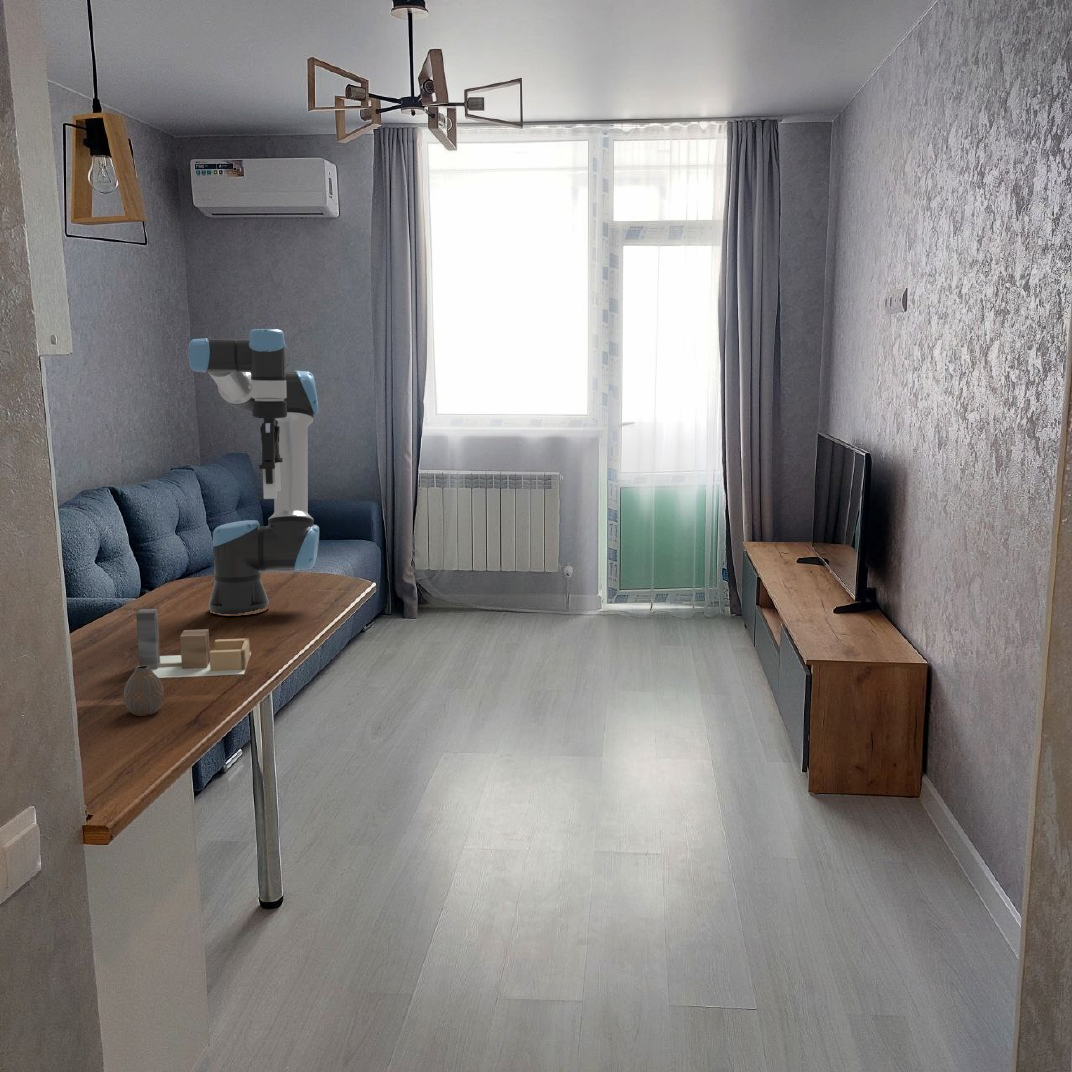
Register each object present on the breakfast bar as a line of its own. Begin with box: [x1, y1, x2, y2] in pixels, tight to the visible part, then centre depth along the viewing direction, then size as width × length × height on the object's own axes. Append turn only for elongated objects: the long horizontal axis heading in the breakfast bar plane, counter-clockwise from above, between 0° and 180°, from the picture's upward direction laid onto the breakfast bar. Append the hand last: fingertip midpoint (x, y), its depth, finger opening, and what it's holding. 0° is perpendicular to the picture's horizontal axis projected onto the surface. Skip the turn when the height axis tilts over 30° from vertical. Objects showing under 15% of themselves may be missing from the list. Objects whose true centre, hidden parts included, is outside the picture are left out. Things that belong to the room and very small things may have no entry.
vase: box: [123, 665, 165, 717], centre depth 184 cm, size 7×7×9 cm
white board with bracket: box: [151, 637, 252, 679], centre depth 211 cm, size 16×22×5 cm
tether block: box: [135, 608, 211, 669], centre depth 209 cm, size 5×14×12 cm, turn 101°
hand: (272, 494), depth 226 cm, fingers open, 13 cm apart
